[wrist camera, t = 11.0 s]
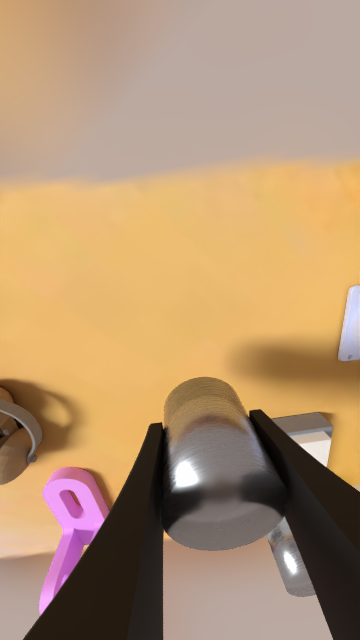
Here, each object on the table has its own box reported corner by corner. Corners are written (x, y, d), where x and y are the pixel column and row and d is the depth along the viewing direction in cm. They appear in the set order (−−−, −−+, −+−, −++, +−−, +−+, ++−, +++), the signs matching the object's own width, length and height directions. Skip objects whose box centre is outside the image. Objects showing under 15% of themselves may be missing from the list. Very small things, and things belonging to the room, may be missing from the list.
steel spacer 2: (279, 495, 21) (311, 560, 17) (306, 510, 22) (344, 575, 18) (252, 519, 22) (275, 588, 17) (279, 533, 23) (308, 601, 18)
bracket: (116, 525, 26) (99, 614, 20) (78, 532, 26) (48, 624, 20) (87, 462, 22) (53, 546, 16) (42, 470, 22) (-11, 558, 16)
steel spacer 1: (244, 376, 11) (302, 463, 6) (234, 437, 12) (275, 546, 8) (164, 377, 11) (161, 469, 6) (163, 439, 12) (160, 554, 7)
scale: (318, 412, 22) (376, 469, 16) (306, 498, 27) (347, 568, 21) (186, 431, 22) (194, 497, 15) (198, 515, 26) (207, 591, 20)
